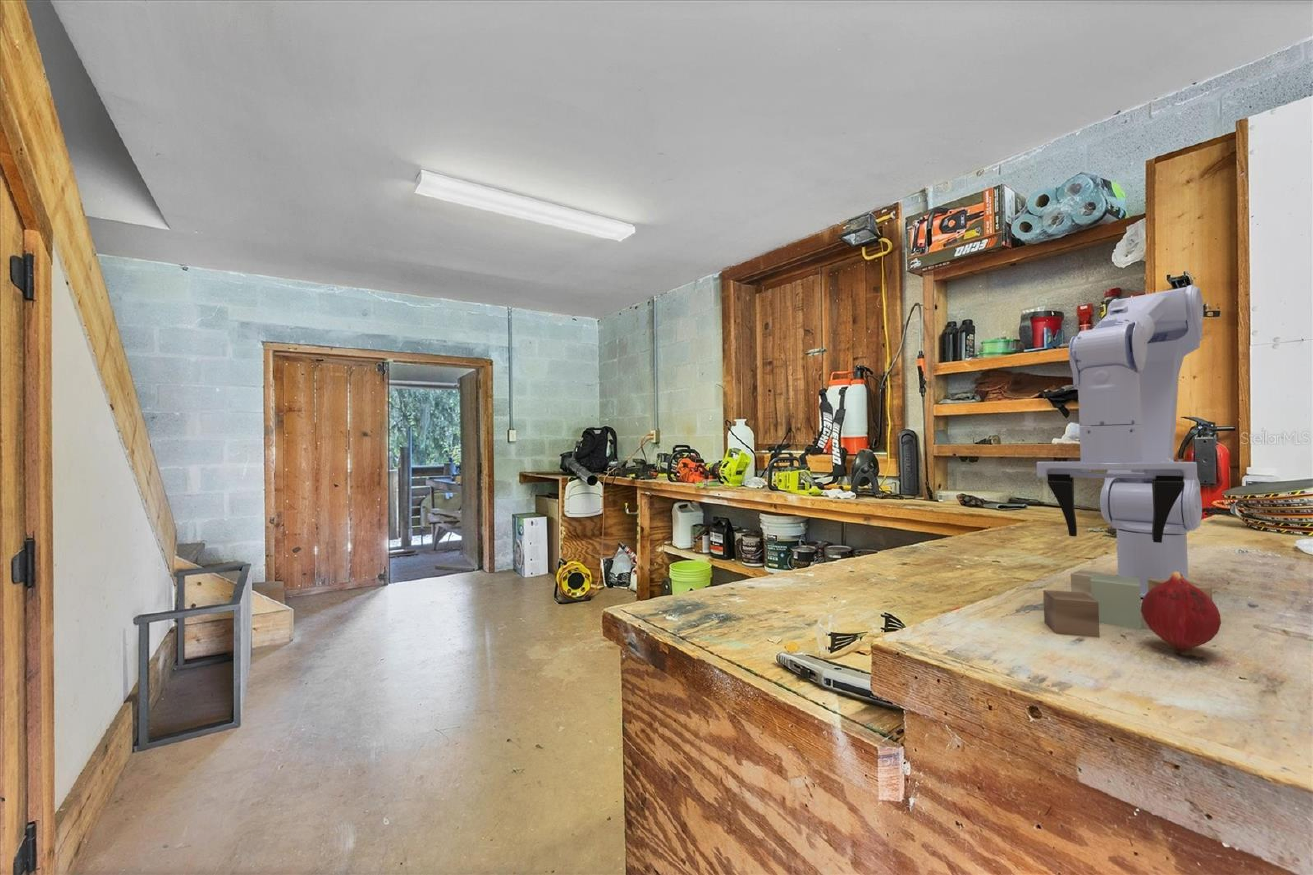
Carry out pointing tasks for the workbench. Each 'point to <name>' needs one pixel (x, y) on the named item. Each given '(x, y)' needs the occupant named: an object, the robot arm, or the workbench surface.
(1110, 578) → the sage block
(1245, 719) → the workbench surface
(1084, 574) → the maple block
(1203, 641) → the onion
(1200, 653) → the workbench surface
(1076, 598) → the walnut block
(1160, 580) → the oak block
